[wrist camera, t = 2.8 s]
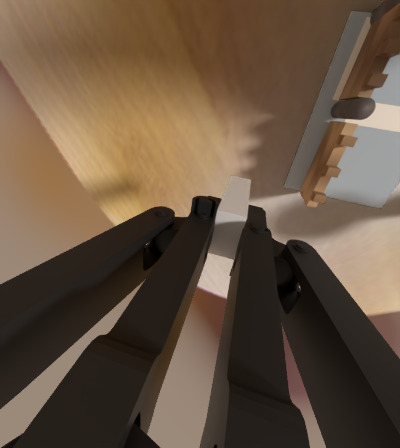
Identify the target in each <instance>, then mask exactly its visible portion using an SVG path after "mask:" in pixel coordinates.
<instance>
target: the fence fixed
mask: <svg viewBox="0 0 400 448" xmlns="http://www.w3.org/2000/svg"><path fill="white" fill-rule="evenodd" d="M370 25H371V26H370V29H369V31H368V33H367V35H366V38H365V40H364V42H363V45H362V47H361V49H360V52H359V54H358V56H357V58H356V61H355V63H354V65H353V68H352V70H351V72H350V75H349V77H348V79H347V82H346V84H345V86H344V88H343V91H342V93H341V95H340V98H339V100H345V101H340V102H337V103H336V104H334V106H333V107H332V109H331V115H332V117H334V118H339V119H353V120H363V119H366V118H368V117H369V116H370V115H371V114H372V113H373V112H374V110H375V107H376V103H375V101H374V100H373V99H372V98H370V97H371V95H372V93H373V91H374V89H375V88H380V87H383V85H384V83H385V81H386V79H387V77H388V75H389V74H382V73H383V71H384V69H385V67H386V65H387V63H388V61H389V59H390V58H392V57H394V56H396V55H399V54H400V0H385V1H384V2H383V3H382V4H381V5H380V6H378V7H377V8H376V9H375V10H374V11H373V12H372V15H371V18H370Z"/></svg>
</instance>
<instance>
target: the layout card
mask: <svg viewBox="0 0 400 448" xmlns="http://www.w3.org/2000/svg"><path fill="white" fill-rule="evenodd" d="M371 15H372V13H371V12H360V11H351V13H350V15H349V18H348V20H347V23H346V25H345V28H344V31H343V33H342V36H341V38H340V41H339V44H338V46H337V49H336V51H335V54H334V57H333V59H332V62H331V64H330V67H329V70H328V72H327V75H326V77H325V80H324V83H323V85H322V88H321V90H320V93H319V96H318V98H317V101H316V103H315V106H314V108H313V111H312V114H311V116H310V119H309V121H308V124H307V127H306V129H305V132H304V134H303V137H302V140H301V142H300V145H299V147H298V150H297V153H296V155H295V158H294V160H293V163H292V166H291V168H290V171H289V173H288V176H287V179H286V181H285V184H284V187H285V188H290V189H294V190H299V191H300V189H301V187H302V184H303V182H304V180H305V178H306V175H307V173H308V171H309V168H310V166H311V164H312V161H313V159H314V157H315V155H316V152H317V150H318V148H319V145H320V143H321V141H322V138H323V136H324V134H325V132H326V129H327V127H328V125H329V122H330V121H339V122H347V123H353V124H358V126H357V128H356V130H355V132H354V134H353V137H357V138H358V139H357V141H356V143H355V145H354V147H348V146H347V148H346V149H345V151H344V153H343V155H342V157H341V159H340V161H339V163H338V165H337V167H338V168H340V169H341V172H340V174H339V176H338V177H337V178H335V177H331V179H330V181H329V183H328V185H327V187H326V189H325V191H324V194H325V195H326V196H327V197H330V198H335V199H339V200H343V201H348V202H352V203H357V204H361V205H366V206H370V207H375V208H379V209H381V208H382V206H383V205H384V204H385V202H386V201H387V199H388V198H389V196H390V195H391V194H392V192H393V191H394V189H395V188H396V186H397V185H398V184H399V182H400V54H399V55H396V56H394V57H392V58H390V59H389V61H388V63H387V65H386V67H385V69H384V71H383V73H382V74H389V75H388V77H387V79H386V81H385V83H384V85H383V87H380V88H375V89H374V91H373V93H372V95H371V97H370V98H372V99H373V100H374V101H375V103H376V107H375V110H374V112H373V113H372V114H371V115H370V116H369V117H368V118H366V119H363V120H353V119H339V118H334V117H332V115H331V109H332V107H333V106H334V104H336V103H337V102H340V101H345V100H339V98H340V95H341V93H342V91H343V88H344V86H345V84H346V82H347V79H348V77H349V75H350V72H351V70H352V68H353V65H354V63H355V61H356V58H357V56H358V54H359V52H360V49H361V47H362V45H363V42H364V40H365V38H366V35H367V33H368V31H369V29H370V26H371V25H370V18H371Z"/></svg>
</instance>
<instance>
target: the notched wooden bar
mask: <svg viewBox="0 0 400 448" xmlns="http://www.w3.org/2000/svg"><path fill="white" fill-rule="evenodd" d="M357 126H358V124H353V123H347V122H339V121H330V122H329V125H328V127H327V129H326V132H325V134H324V136H323V138H322V141H321V143H320V145H319V148H318V150H317V152H316V155H315V157H314V159H313V161H312V164H311V166H310V168H309V171H308V173H307V175H306V178H305V180H304V182H303V184H302V187H301V189H300V193H301V195H302V197H303V199H304V201H305V203H306V205H307V206H310V207H314V208H316V207H317V205H318V203H321V204H324V202H325V200H326V199H327V196H326V195H325V194H324V191H325V189H326V187H327V185H328V183H329V181H330V179H331V177H335V178H337V177H338V176H339V174H340V172H341V169H340V168H338V167H337V165H338V163H339V161H340V159H341V157H342V155H343V153H344V151H345V149H346V148H347V146H348V147H354V145H355V143H356V141H357V139H358V138H357V137H353V134H354V132H355V130H356V128H357Z"/></svg>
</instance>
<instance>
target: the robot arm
mask: <svg viewBox="0 0 400 448" xmlns="http://www.w3.org/2000/svg"><path fill="white" fill-rule="evenodd" d="M250 185H251V180H250V179H245V178H241V177H236V176H231V179H230V181H229V184H228V186H227V188H226V191H225V193H224V195H223V198H222V199H220V198H216V197H212V196H208V197H207V196H196V197H194V198H193V200H192V207H191V213H190V214H189V216H188V217H175V212H174V211H173V210H172V209H170V208H167V207H162V206H159V207H154V208H151V209H149V210H147V211H145V212H143V213H141V214H139V215H137V216H135V217H133V218H131V219H129V220H127V221H125V222H123V223H121V224H119V225H117V226H115V227H113V228H111V229H109V230H107V231H105V232H103V233H101V234H99V235H98V236H95V237H93V238H91V239H90V240H88V241H86V242H84V243H82V244H80V245H78V246H76V247H74V248H72V249H70V250H68V251H66V252H64V253H62V254H60V255H58V256H56V257H54V258H52V259H50V260H48V261H46V262H44V263H42V264H40V265H38V266H36V267H34V268H32V269H30V270H28V271H26V272H24V273H22V274H20V275H18V276H16V277H14V278H12V279H10V280H9V281H6V282H5V283H3V284H0V409H1V408H2V407H3V406H5V405H6V404H7V403H8V402H9V401H10V400H12V399H13V398H14V397H15V396H16V395H18V394H19V393H20V392H21V391H22V390H23V389H24V388H26V387H27V386H28V385H29V384H30V383H31V382H32V381H33V380H34V379H35V378H37V377H38V376H39V375H40V374H41V373H42V372H43V371H44V370H45V369H46V368H48V367H49V366H50V365H51V364H52V363H53V362H54V361H55V360H56V359H58V358H59V357H60V356H61V355H62V354H63V353H64V352H65V351H67V349H69V348H70V347H71V346H72V345H73V344H74V343H75V342H76V341H78V340H79V339H80V338H81V337H82V336H83V335H84V334H85V333H86V332H88V331H89V330H90V329H91V328H92V327H93V326H94V325H95V324H96V323H98V321H100V320H101V319H102V318H103V317H104V316H105V315H106V314H107V313H109V312H110V311H111V310H112V309H113V308H114V307H115V306H116V305H117V304H119V303H120V302H121V301H122V300H123V299H124V298H125V297H126V296H127V295H128V294H130V293H131V292H132V291H133V290H134V289H135V288H136V287H137V286H139V285H140V284H141V283H142V282H143V281H144V280H145V279H146V280H145V281H144V282H143V284H142V285H141V287H140V289H139V290H138V291H137V293H136V294H135V296H134V297H133V299H132V300H131V302H130V303H129V305H128V306H127V308H126V309H125V311H124V312H123V314H122V315H121V317H120V318H119V319H118V321H117V323H116V324H115V325H114V327H113V328H112V329H111V331H110V332H109V333H108V334H106V335H99V336H98V337H96V338H95V339H94V340H93V341H92V342H91V343H90V344H89V345H88V346H87V348H86V349H85V350H84V351H83V353H82V354H81V355H80V357H79V358H78V360H77V361H76V362H75V364H74V365H73V366H72V368H71V369H70V371H69V372H68V373H67V374H66V376H65V377H64V379H63V380H62V382H61V383H60V384H59V385H58V387H57V388H56V390H55V391H54V393H53V394H52V395H51V396H50V398H49V399H48V400H47V402H46V403H45V404H44V406H43V407H42V409H41V410H40V411H39V413H38V414H37V415H36V417H35V418H34V419H33V421H32V422H31V424H30V425H29V426H28V428H27V429H26V430H25V432H24V433H23V434H21V435H20V436H18V437H16V438H15V439H13V440H12V441H10V442H9V443H7V444H6V445H4V446H3V447H1V448H160V447H159V446H158V445H157V444H156V443H155V442H154V441H153V440H152V439H151V438H150V437H149V436H148V435H147V432H148V429H149V426H150V423H151V420H152V416H153V413H154V409H155V405H156V402H157V399H158V395H159V393H160V390H161V387H162V384H163V381H164V378H165V375H166V373H167V370H168V367H169V364H170V361H171V358H172V355H173V352H174V350H175V347H176V344H177V341H178V338H179V336H180V333H181V330H182V327H183V324H184V321H185V318H186V316H187V313H188V310H189V307H190V304H191V301H192V298H193V296H194V293H195V290H196V287H197V284H198V281H199V279H200V276H201V273H202V270H203V267H204V264H205V261H206V259H207V254H208V253H212V254H215V255H219V256H223V257H226V258H230V259H233V260H234V263H233V266H232V269H231V272H230V275H229V276H231V278H230V284H229V290H228V296H227V302H226V307H225V314H224V319H223V325H222V331H221V337H220V343H219V349H218V354H217V360H216V366H215V372H214V378H213V384H212V390H211V396H210V402H209V407H208V413H207V418H206V423H205V427H204V431H203V435H202V439H201V444H200V448H310V446H309V440H308V434H307V429H306V425H305V421H304V418H303V416H302V414H301V411H300V409H298V408H297V407H296V406H295V405H294V404H293V403H292V401H291V399H290V395H289V390H288V380H287V371H286V362H285V352H284V343H283V334H282V325H283V328H284V331H285V333H286V336H287V339H288V342H289V345H290V348H291V350H292V353H293V356H294V359H295V361H296V364H297V367H298V370H299V373H300V375H301V378H302V381H303V384H304V387H305V389H306V392H307V395H308V397H309V400H310V403H311V406H312V409H313V411H314V414H315V417H316V420H317V423H318V426H319V428H320V431H321V434H322V437H323V439H324V442H325V445H326V448H400V359H399V357H398V356H397V355H396V354H395V352H394V351H393V350H392V348H391V347H390V346H389V344H388V343H387V342H386V341H385V339H384V338H383V337H382V335H381V334H380V333H379V332H378V331H377V329H376V328H375V326H374V325H373V324H372V322H371V321H370V320H369V319H368V317H367V316H366V315H365V313H364V312H363V311H362V310H361V308H360V307H359V306H358V304H357V303H356V302H355V301H354V299H353V298H352V297H351V295H350V294H349V293H348V291H347V290H346V289H345V288H344V286H343V285H342V284H341V282H340V281H339V280H338V279H337V277H336V276H335V275H334V273H333V272H332V271H331V270H330V268H329V267H328V266H327V264H326V263H325V262H324V260H323V259H322V258H321V257H320V255H319V254H318V253H317V251H316V250H315V249H314V248H313V247H312V246H310V245H309V244H307V243H306V242H303V241H299V240H289V241H288V242H287V243H286V245H285V244H282V243H280V242H278V241H276V240H274V239H273V238H272V235H271V231H270V230H269V229H268V228H267V225H266V212H265V211H264V210H263V208H261V207H256V206H252V205H249V195H250ZM147 243H148V244H147ZM146 244H147V245H146ZM208 250H209V251H208ZM234 258H235V259H234ZM299 285H300V288H299ZM300 289H301V290H300ZM281 323H282V325H281Z"/></svg>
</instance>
